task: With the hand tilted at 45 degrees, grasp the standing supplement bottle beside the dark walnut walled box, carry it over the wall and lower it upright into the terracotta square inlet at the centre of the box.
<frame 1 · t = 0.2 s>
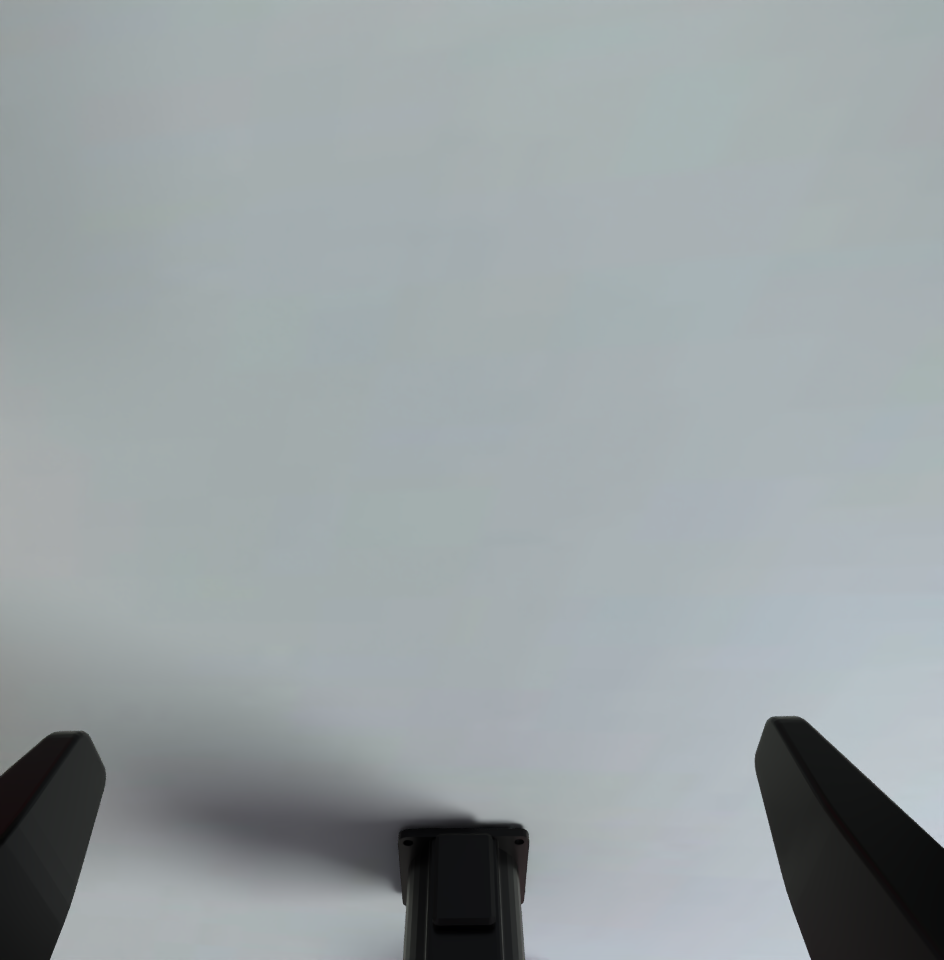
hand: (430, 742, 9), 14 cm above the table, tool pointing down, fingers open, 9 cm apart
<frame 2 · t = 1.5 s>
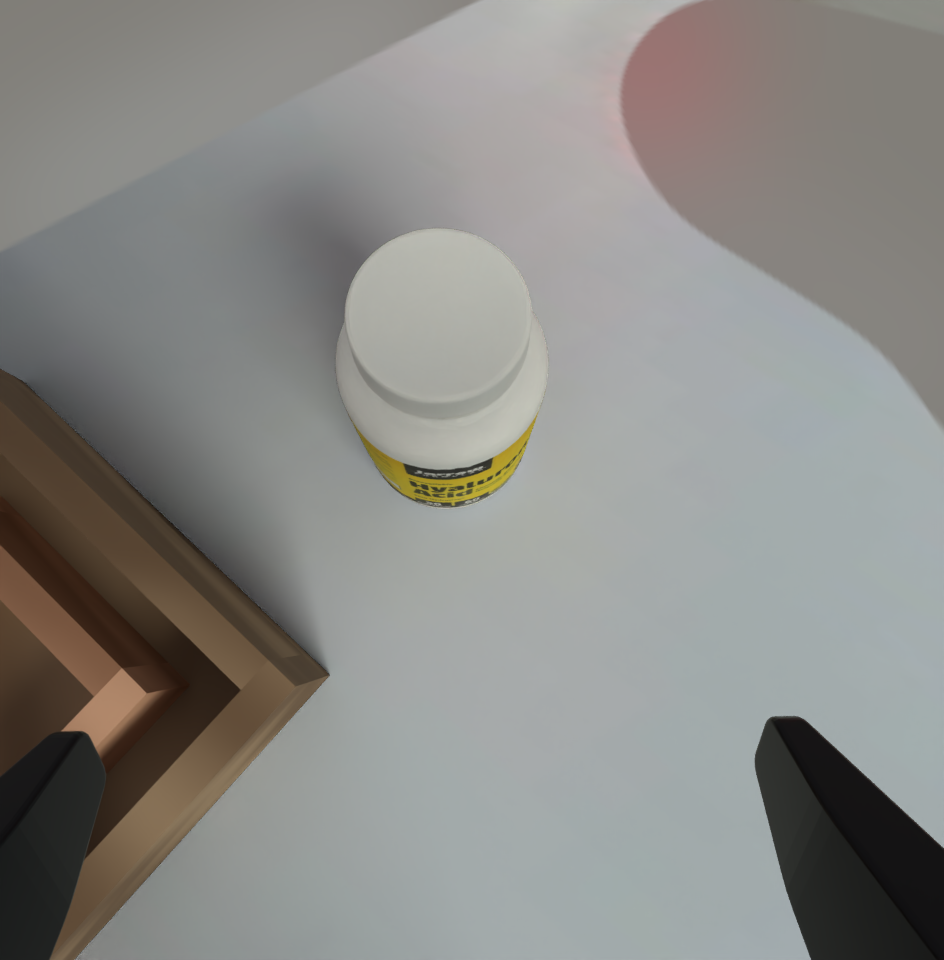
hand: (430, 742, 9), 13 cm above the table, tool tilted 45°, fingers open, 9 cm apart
supplement bottle: (449, 437, 24), on the table
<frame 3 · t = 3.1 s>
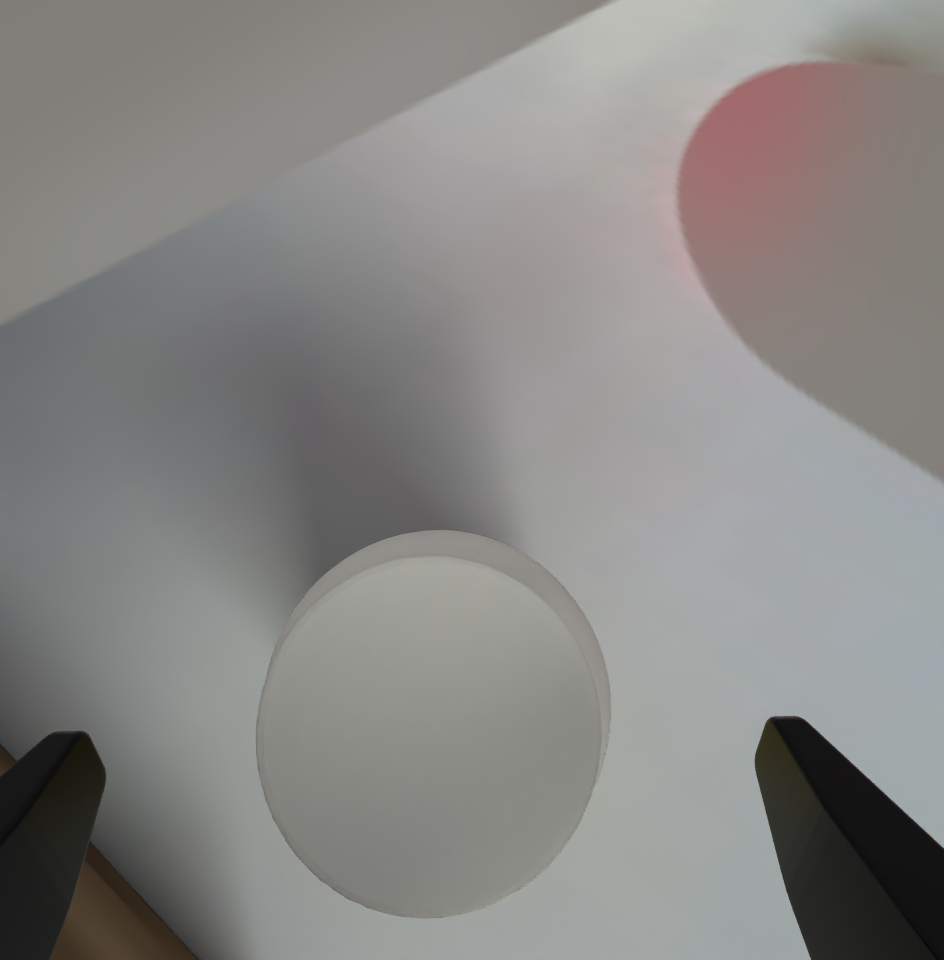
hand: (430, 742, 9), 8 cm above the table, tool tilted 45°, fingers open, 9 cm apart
supplement bottle: (449, 675, 18), on the table
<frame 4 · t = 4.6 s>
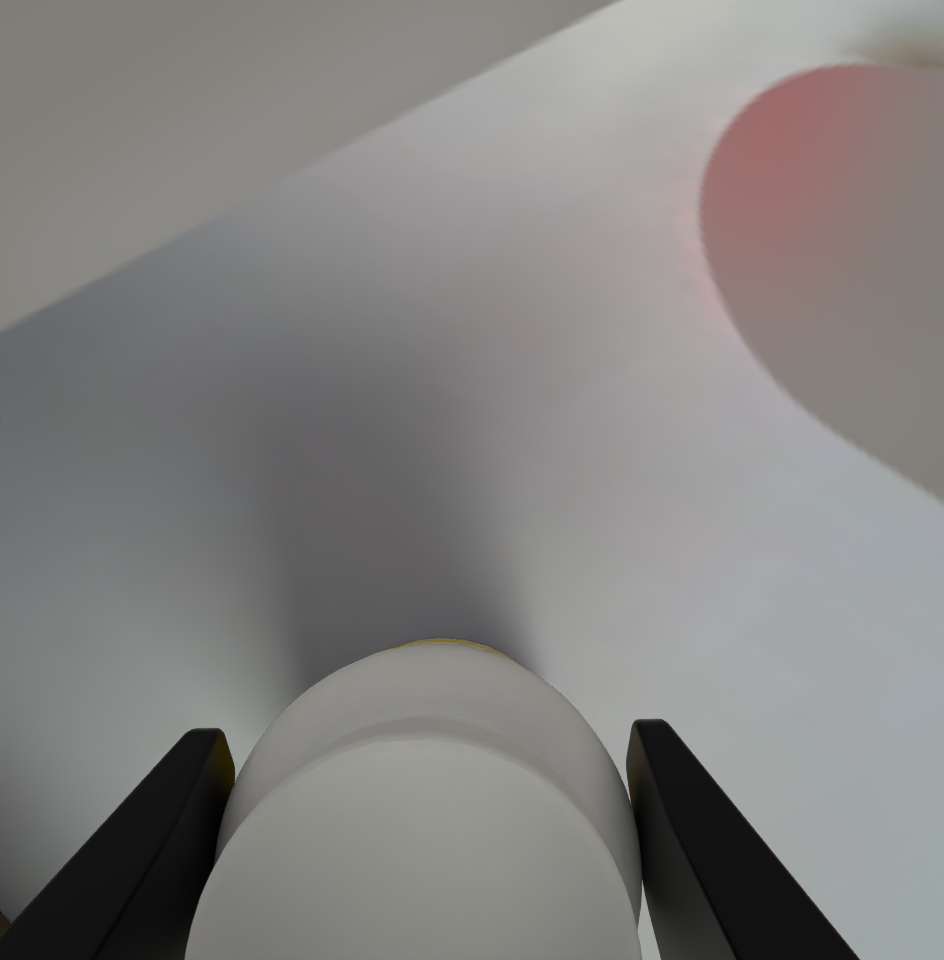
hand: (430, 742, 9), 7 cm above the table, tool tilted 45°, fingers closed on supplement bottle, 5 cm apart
supplement bottle: (445, 760, 16), on the table, touching gripper
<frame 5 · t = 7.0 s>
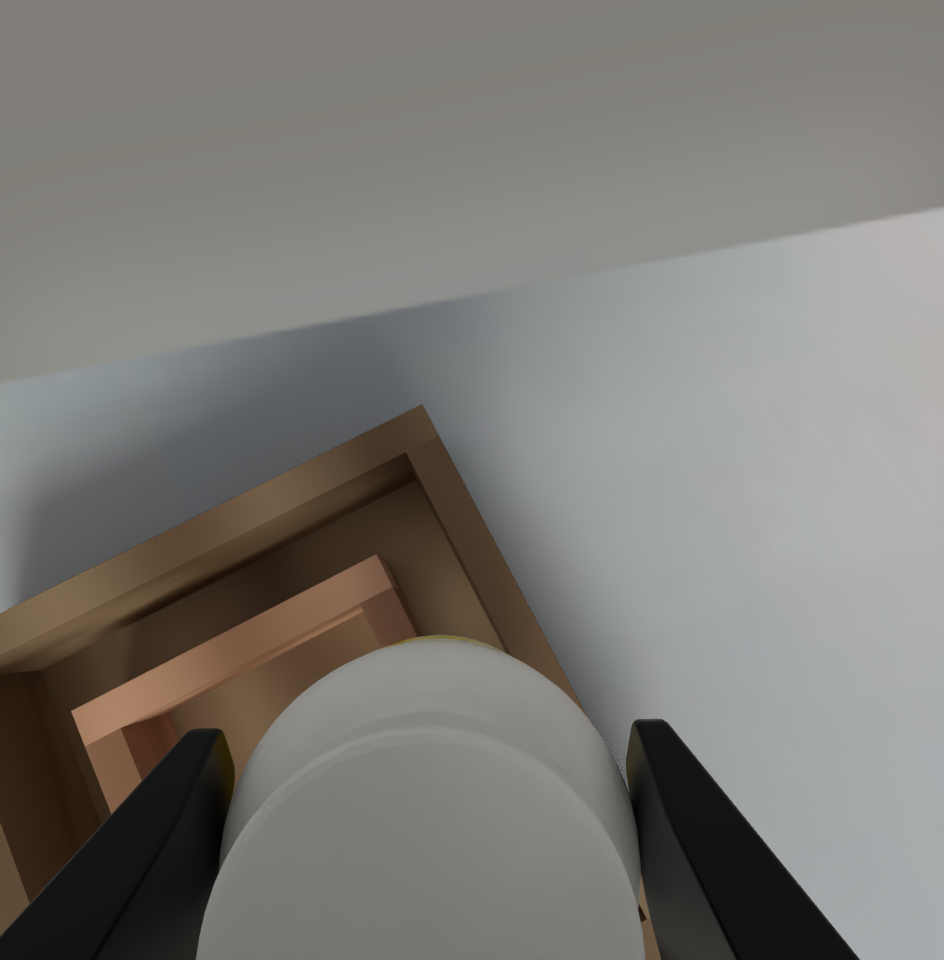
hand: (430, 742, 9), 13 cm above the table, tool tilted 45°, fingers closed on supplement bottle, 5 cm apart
supplement bottle: (443, 756, 16), point 6 cm above the table, touching gripper
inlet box: (324, 760, 22), on the table
when the fingers open (8 cm above the table, at t = 9.4 s): supplement bottle stays where it is, resting on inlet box.
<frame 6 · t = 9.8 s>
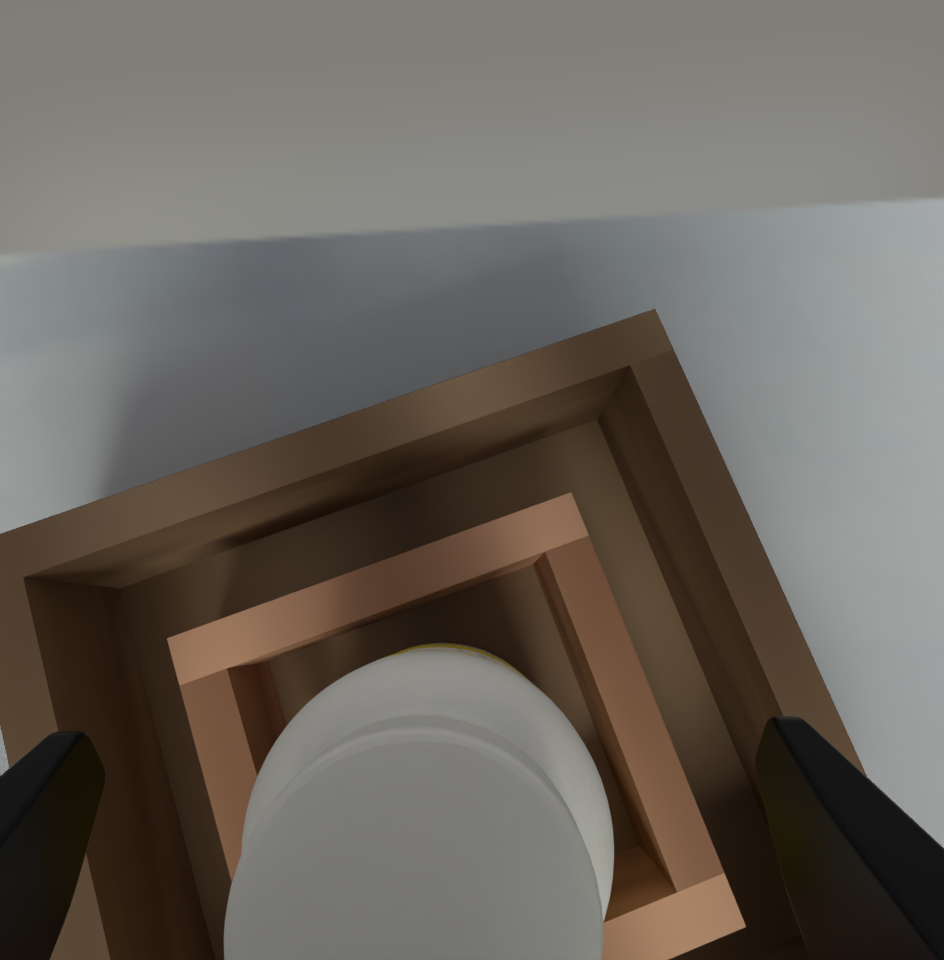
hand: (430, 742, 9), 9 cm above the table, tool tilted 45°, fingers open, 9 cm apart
supplement bottle: (445, 755, 17), resting on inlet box
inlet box: (450, 747, 17), on the table
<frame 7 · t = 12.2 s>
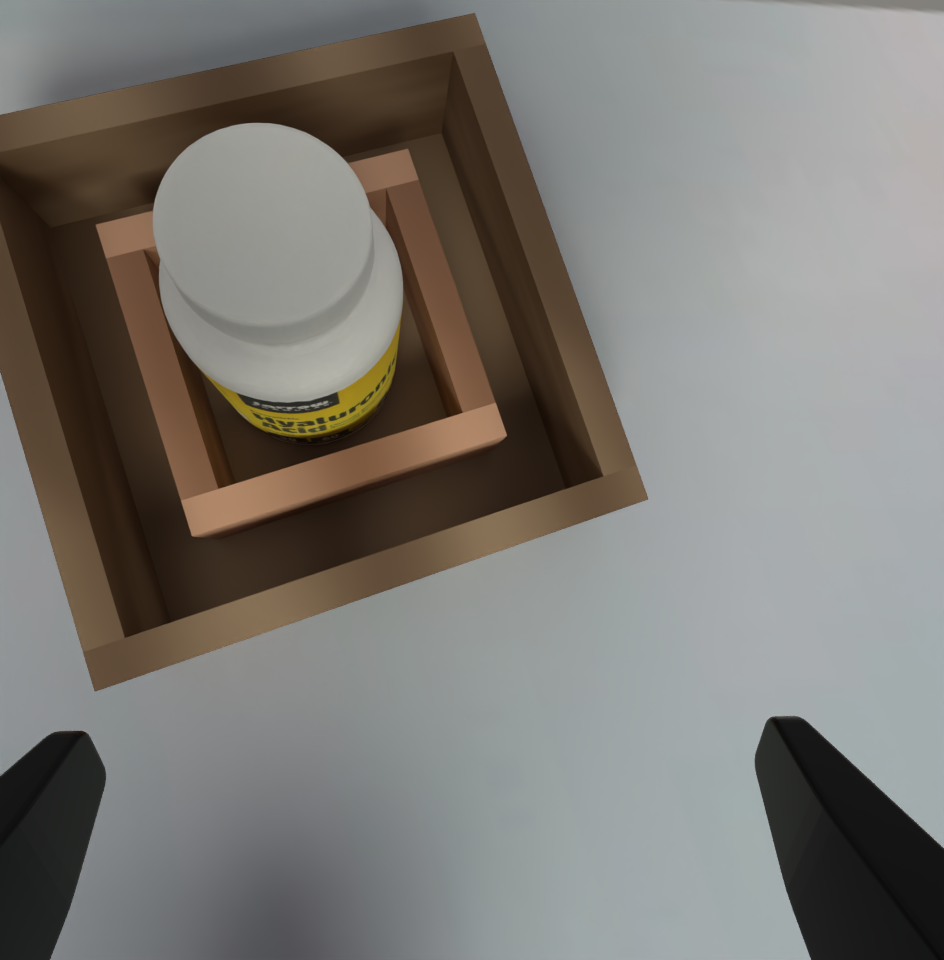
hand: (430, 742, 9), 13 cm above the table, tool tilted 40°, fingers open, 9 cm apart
supplement bottle: (312, 367, 23), resting on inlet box
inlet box: (317, 367, 23), on the table
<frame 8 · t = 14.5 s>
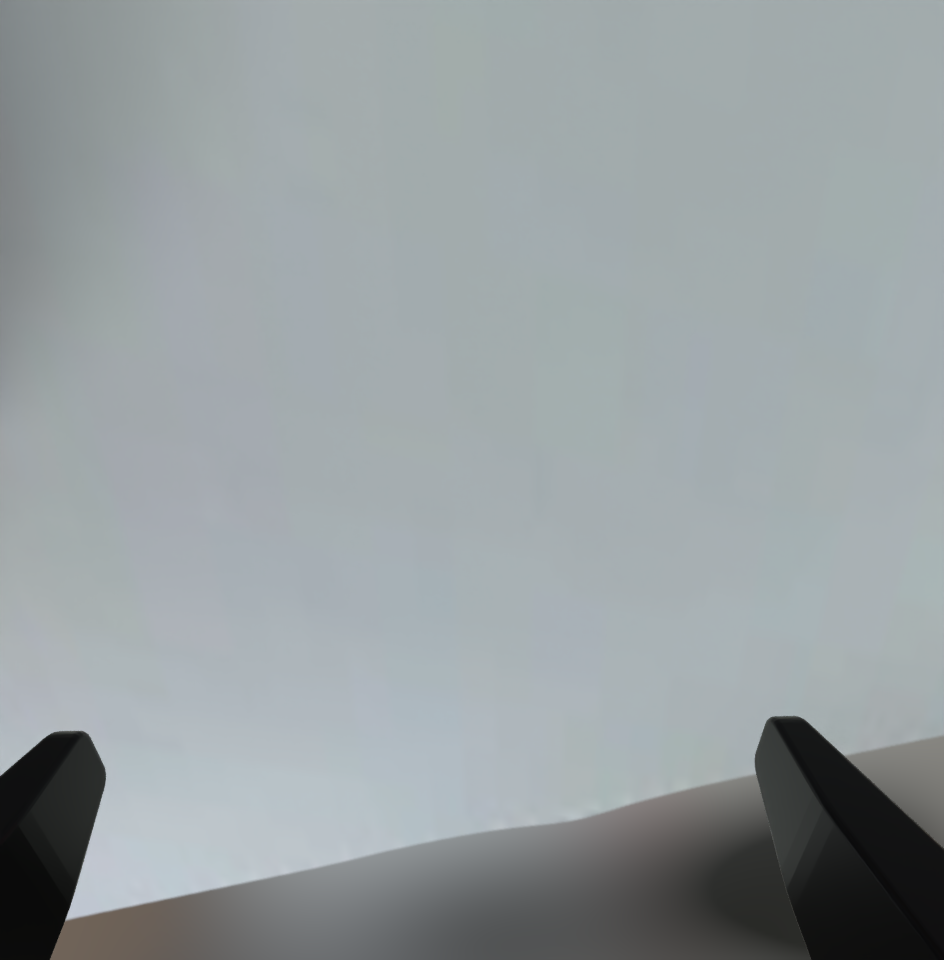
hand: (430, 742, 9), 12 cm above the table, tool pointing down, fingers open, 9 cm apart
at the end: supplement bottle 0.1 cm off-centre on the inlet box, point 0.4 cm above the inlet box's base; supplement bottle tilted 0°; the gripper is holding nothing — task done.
